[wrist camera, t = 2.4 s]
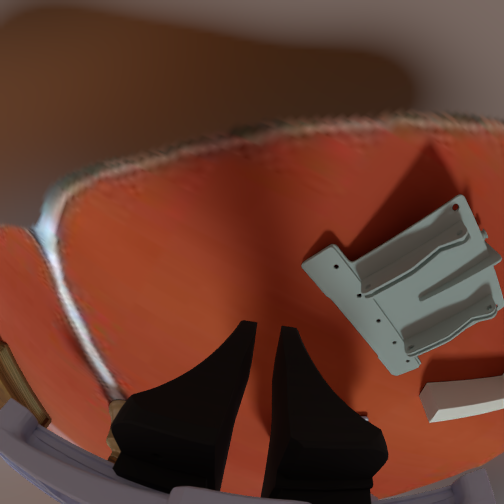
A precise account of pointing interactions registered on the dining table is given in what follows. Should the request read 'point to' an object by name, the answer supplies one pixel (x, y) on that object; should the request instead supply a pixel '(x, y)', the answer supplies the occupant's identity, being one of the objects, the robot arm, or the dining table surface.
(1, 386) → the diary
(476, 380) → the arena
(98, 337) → the dining table surface
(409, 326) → the metal bracket
